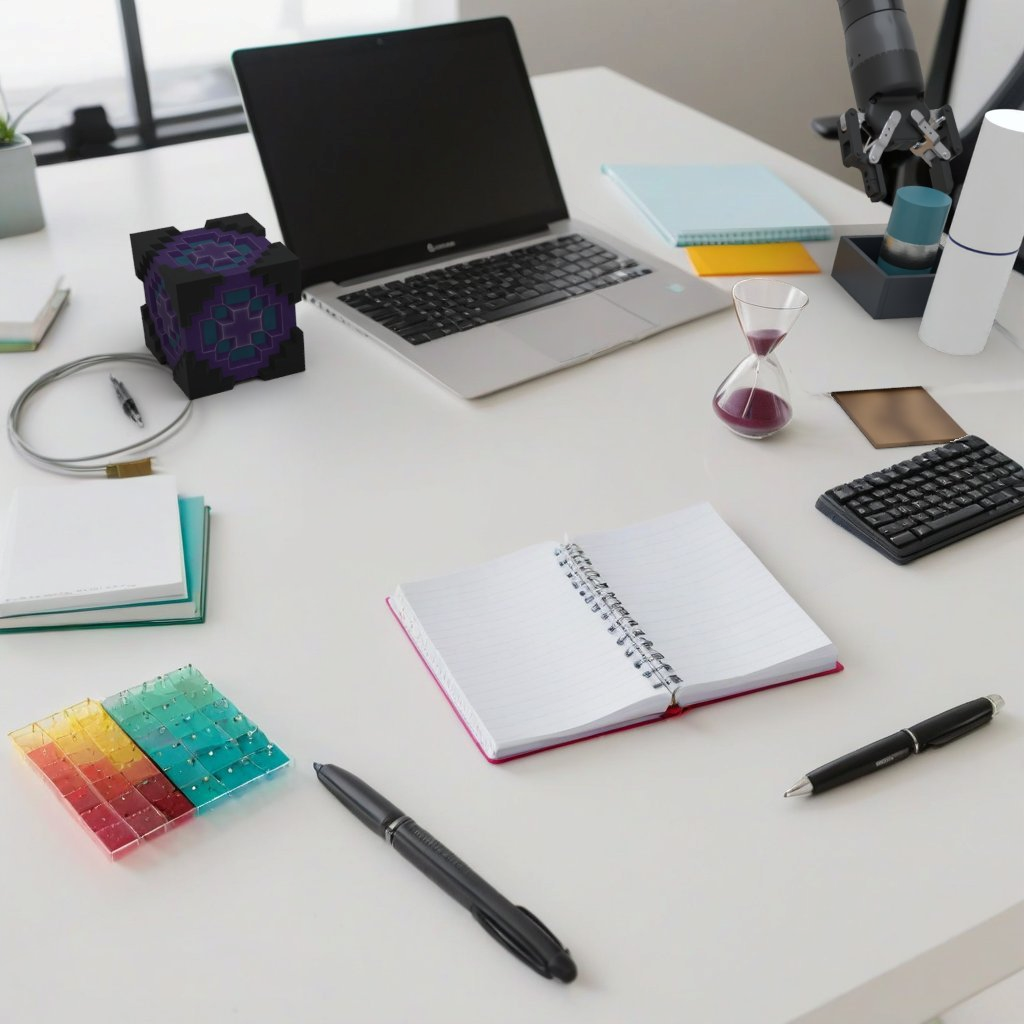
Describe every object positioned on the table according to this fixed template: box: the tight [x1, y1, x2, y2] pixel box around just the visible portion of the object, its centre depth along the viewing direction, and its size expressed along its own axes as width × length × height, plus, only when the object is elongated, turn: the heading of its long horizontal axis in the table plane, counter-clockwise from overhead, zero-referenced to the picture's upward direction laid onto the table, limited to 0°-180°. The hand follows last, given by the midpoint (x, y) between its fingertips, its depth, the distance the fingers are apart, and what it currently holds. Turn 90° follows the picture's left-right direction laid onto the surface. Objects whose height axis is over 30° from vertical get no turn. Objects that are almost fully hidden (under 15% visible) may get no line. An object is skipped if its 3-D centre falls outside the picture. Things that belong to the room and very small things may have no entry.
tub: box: [830, 233, 945, 321], centre depth 134 cm, size 11×11×6 cm
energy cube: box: [129, 212, 306, 401], centre depth 112 cm, size 12×12×12 cm
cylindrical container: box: [917, 108, 1024, 356], centre depth 120 cm, size 7×7×25 cm
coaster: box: [830, 385, 969, 449], centre depth 115 cm, size 10×10×1 cm
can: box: [877, 185, 953, 276], centre depth 132 cm, size 6×6×12 cm
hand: (912, 198), depth 130 cm, fingers open, 8 cm apart
